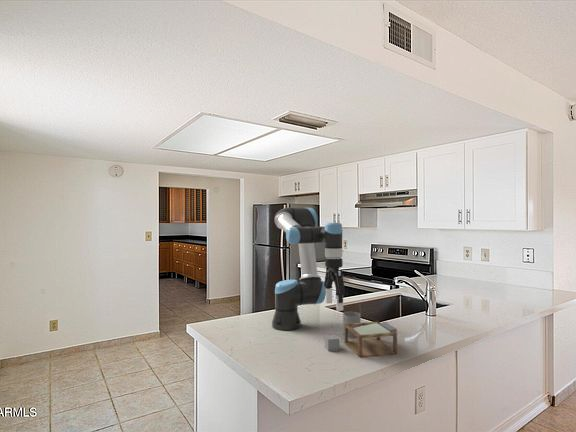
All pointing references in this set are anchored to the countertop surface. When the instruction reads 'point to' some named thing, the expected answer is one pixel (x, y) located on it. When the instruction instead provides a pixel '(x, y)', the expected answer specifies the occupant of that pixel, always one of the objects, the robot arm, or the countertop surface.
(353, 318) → the cup
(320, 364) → the countertop surface
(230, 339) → the countertop surface
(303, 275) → the robot arm
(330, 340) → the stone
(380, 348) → the frame
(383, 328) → the trapdoor
